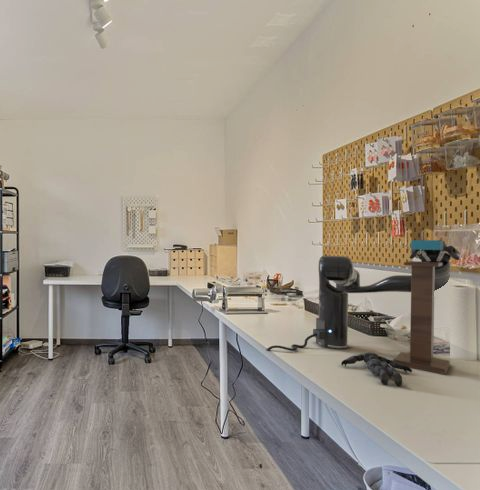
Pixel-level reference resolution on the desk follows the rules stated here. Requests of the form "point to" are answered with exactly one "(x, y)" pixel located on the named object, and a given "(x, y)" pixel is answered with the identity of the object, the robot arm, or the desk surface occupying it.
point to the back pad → (427, 244)
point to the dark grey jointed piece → (380, 366)
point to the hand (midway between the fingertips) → (431, 242)
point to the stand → (422, 320)
